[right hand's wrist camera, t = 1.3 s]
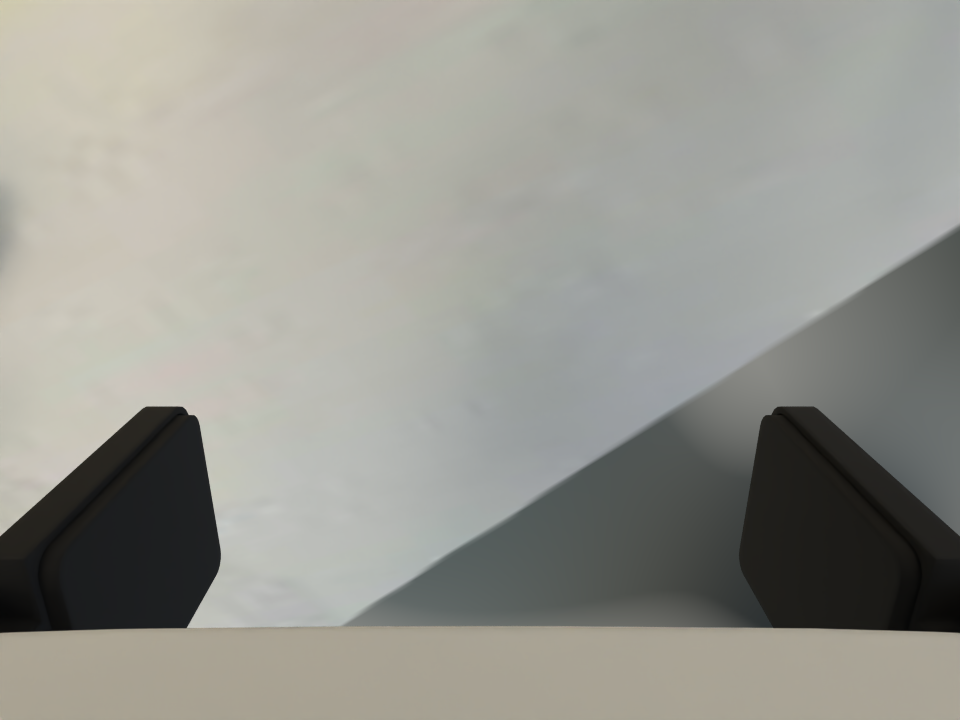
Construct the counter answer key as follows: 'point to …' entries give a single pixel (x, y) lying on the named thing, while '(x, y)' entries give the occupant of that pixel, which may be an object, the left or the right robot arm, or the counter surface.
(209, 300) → the counter surface
